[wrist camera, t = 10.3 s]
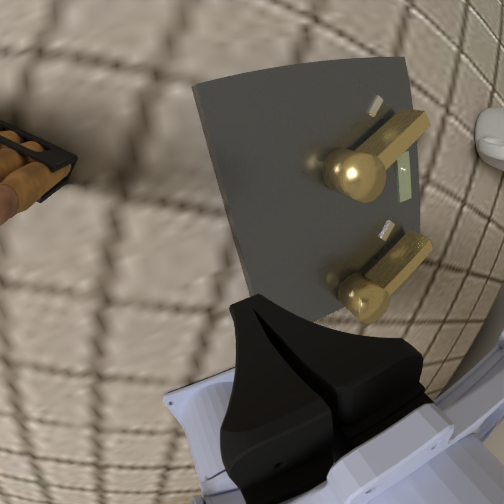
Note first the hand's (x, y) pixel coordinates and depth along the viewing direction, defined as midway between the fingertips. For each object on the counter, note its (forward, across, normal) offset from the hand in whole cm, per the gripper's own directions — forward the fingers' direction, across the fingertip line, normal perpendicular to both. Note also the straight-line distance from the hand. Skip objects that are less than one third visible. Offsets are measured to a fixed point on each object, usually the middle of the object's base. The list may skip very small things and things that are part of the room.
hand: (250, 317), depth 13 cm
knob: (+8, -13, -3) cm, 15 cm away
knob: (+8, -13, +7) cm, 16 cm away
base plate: (+9, -10, 0) cm, 14 cm away
